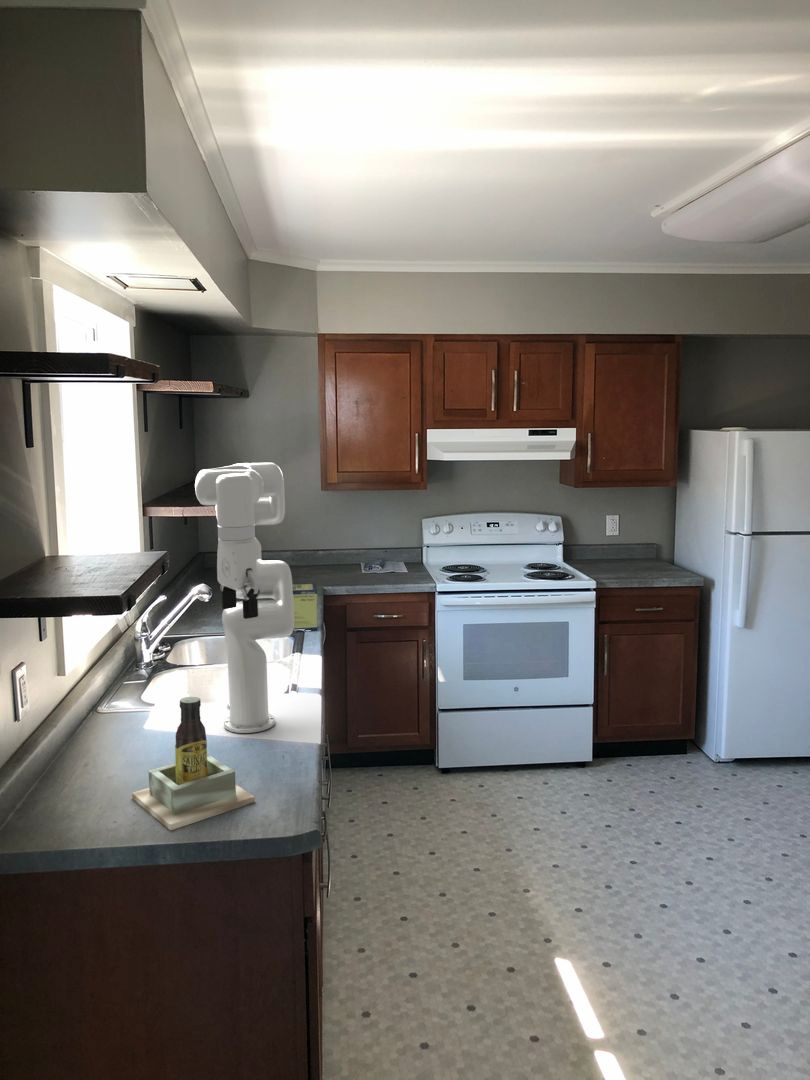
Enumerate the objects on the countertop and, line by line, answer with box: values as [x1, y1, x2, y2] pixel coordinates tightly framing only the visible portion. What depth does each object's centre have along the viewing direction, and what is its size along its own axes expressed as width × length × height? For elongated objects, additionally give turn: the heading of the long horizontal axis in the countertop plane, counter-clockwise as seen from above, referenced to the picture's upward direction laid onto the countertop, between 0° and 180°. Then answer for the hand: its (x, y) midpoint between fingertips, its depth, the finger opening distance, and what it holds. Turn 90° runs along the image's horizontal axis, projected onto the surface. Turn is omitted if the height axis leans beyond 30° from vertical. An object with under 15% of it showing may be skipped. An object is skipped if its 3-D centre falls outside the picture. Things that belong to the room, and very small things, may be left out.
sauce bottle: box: [174, 696, 208, 785], centre depth 171 cm, size 6×6×20 cm
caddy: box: [131, 753, 255, 831], centre depth 172 cm, size 18×18×6 cm
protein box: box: [292, 583, 319, 632], centre depth 309 cm, size 10×16×16 cm
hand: (239, 612), depth 181 cm, fingers open, 9 cm apart
